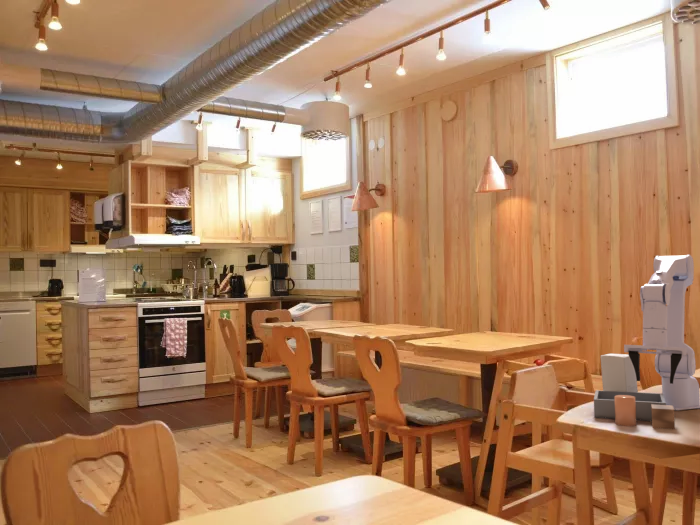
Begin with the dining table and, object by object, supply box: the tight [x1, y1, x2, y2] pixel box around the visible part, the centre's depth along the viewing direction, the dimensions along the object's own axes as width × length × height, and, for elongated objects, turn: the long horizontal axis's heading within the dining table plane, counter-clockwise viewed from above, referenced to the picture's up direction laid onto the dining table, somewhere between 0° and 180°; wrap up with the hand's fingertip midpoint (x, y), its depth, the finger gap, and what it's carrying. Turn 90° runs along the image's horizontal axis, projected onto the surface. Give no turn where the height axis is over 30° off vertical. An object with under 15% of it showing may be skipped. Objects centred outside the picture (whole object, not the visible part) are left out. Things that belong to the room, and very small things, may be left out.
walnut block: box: [651, 404, 676, 430], centre depth 159 cm, size 5×5×5 cm
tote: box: [593, 389, 666, 422], centre depth 172 cm, size 18×14×5 cm
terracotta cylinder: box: [614, 395, 637, 427], centre depth 163 cm, size 5×5×7 cm
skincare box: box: [600, 353, 639, 392], centre depth 186 cm, size 8×6×15 cm
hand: (654, 382), depth 160 cm, fingers open, 7 cm apart
